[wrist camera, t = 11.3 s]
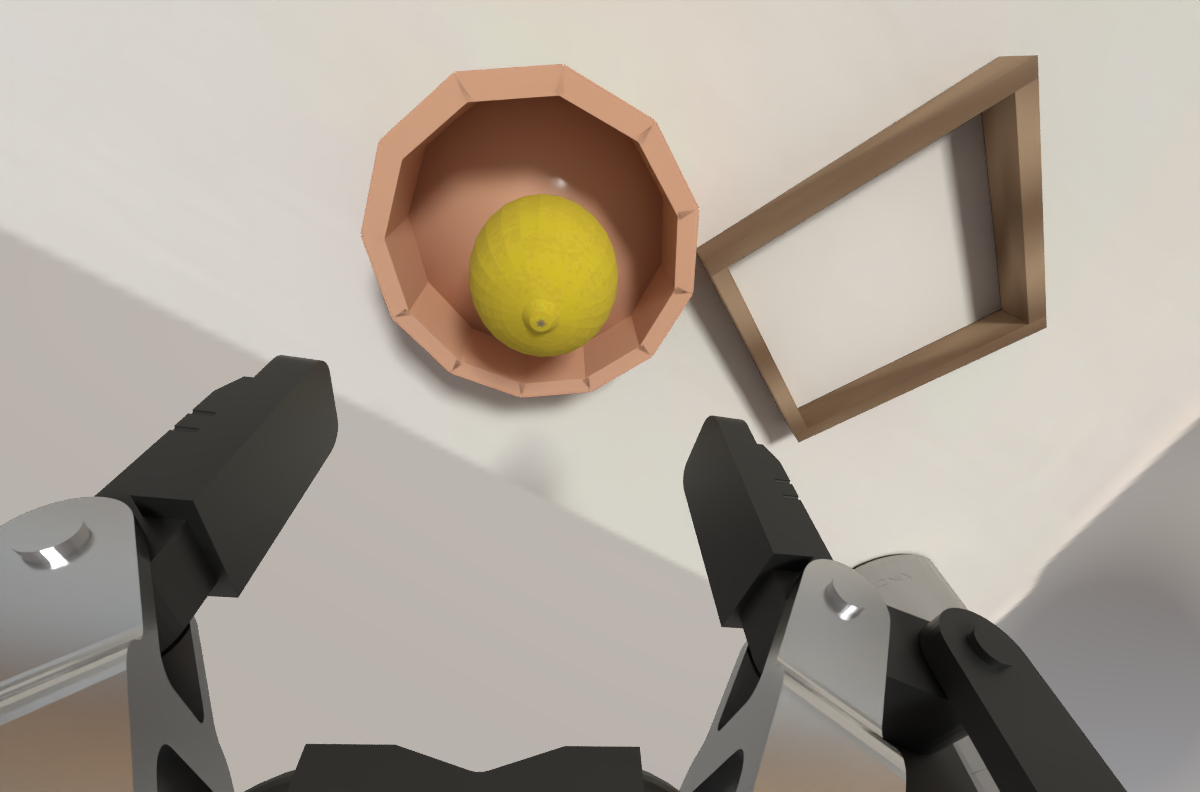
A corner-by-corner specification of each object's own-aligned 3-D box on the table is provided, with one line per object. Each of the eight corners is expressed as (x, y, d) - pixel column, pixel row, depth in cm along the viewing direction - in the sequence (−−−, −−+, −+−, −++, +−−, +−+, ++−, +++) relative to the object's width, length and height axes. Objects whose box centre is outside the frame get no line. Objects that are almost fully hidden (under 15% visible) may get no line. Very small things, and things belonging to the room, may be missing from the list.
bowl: (719, 269, 22) (745, 302, 19) (522, 389, 26) (515, 435, 23) (573, -18, 16) (576, -41, 12) (335, 196, 19) (289, 222, 16)
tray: (1018, 312, 25) (1046, 327, 23) (786, 423, 29) (798, 442, 27) (999, 56, 18) (1037, 55, 16) (694, 249, 22) (704, 262, 20)
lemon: (483, 289, 21) (447, 383, 15) (490, 162, 18) (449, 212, 12) (596, 308, 22) (608, 405, 16) (621, 190, 19) (650, 250, 13)
